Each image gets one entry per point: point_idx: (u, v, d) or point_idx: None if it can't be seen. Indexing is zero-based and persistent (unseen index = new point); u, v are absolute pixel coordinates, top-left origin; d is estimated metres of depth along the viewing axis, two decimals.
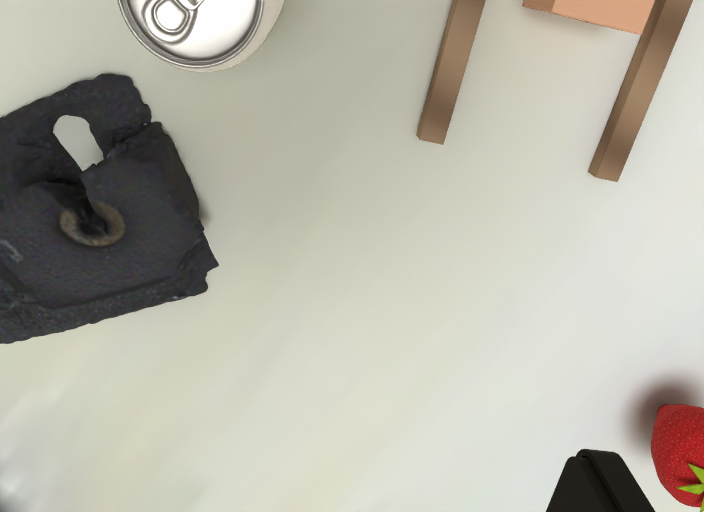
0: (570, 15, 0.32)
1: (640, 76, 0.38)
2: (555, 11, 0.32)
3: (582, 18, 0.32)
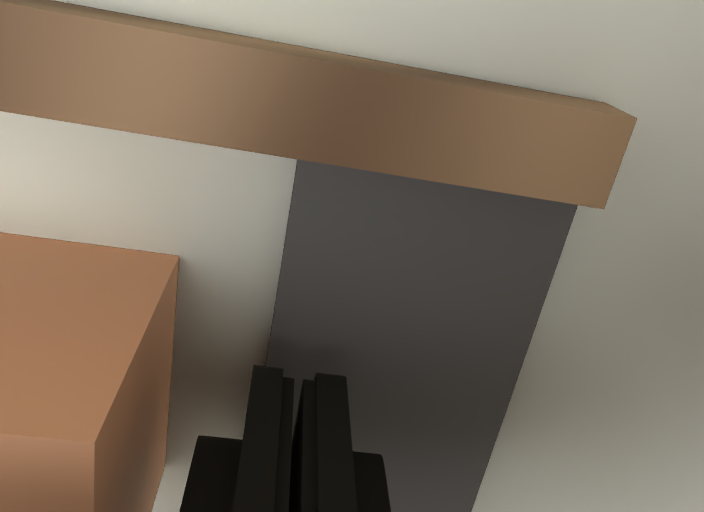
0: None
1: None
2: None
3: None
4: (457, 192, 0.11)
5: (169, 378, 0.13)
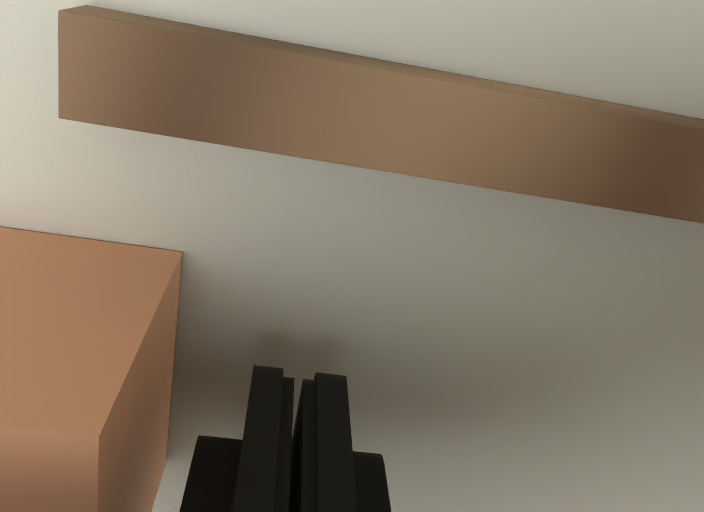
0: None
1: None
2: None
3: None
4: None
5: (171, 374, 0.13)
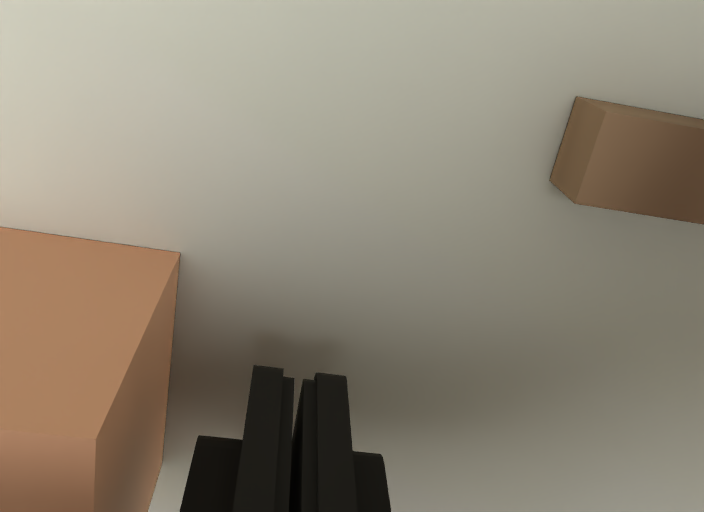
0: None
1: None
2: None
3: None
4: None
5: (168, 376, 0.13)
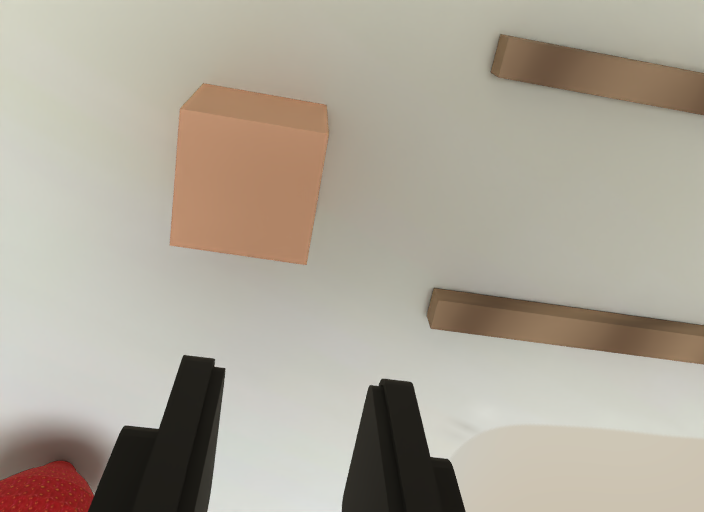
0: (179, 138, 0.22)
1: (568, 323, 0.30)
2: (181, 114, 0.21)
3: (178, 157, 0.22)
4: None
5: None
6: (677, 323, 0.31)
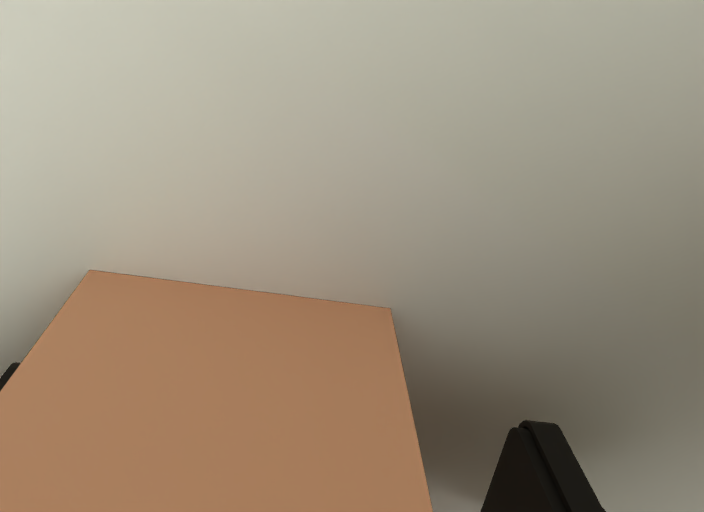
0: None
1: None
2: None
3: None
4: None
5: None
6: None
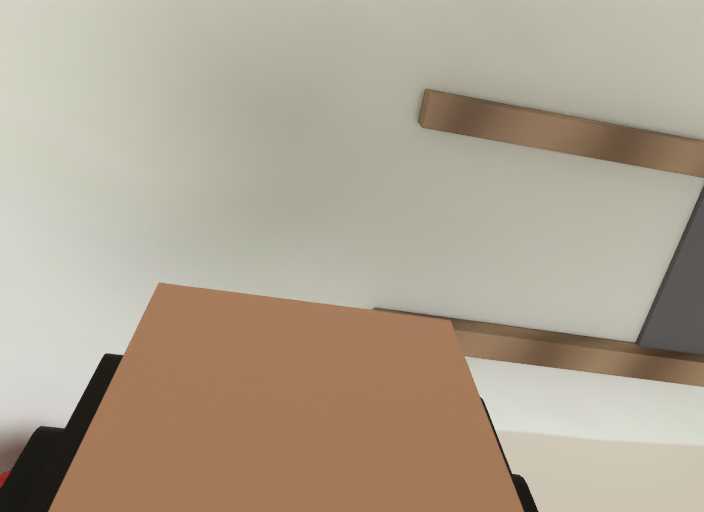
0: None
1: (493, 339, 0.34)
2: None
3: None
4: None
5: None
6: (593, 339, 0.35)
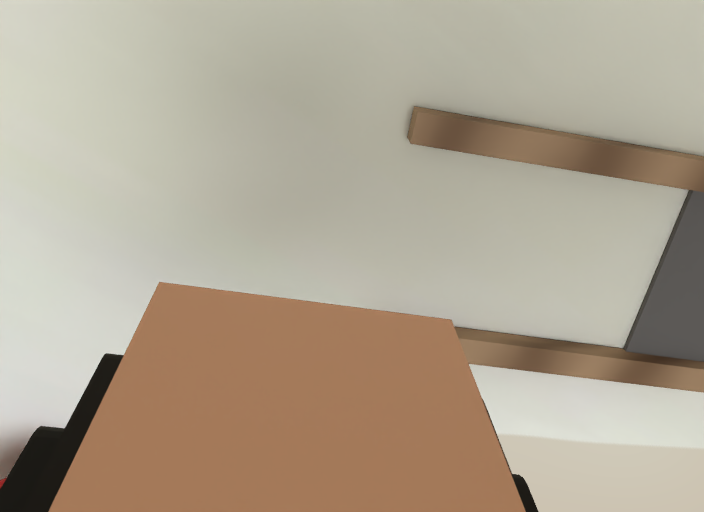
0: None
1: (483, 345, 0.35)
2: None
3: None
4: None
5: None
6: (581, 344, 0.36)
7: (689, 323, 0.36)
